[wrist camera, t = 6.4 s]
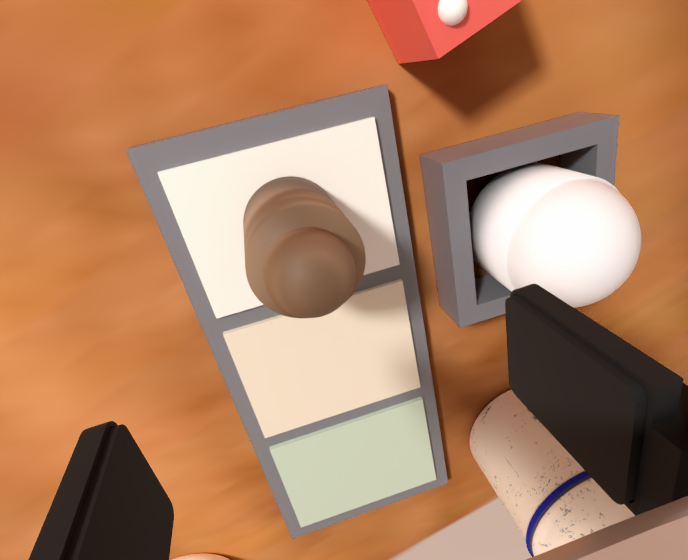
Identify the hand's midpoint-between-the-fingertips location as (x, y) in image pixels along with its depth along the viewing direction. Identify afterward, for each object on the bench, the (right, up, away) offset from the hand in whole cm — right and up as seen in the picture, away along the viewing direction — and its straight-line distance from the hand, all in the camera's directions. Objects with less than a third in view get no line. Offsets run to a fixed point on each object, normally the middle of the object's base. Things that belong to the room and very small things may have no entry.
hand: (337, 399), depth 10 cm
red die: (+4, +17, +11) cm, 21 cm away
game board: (-1, -2, +18) cm, 18 cm away
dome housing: (+10, +7, +17) cm, 21 cm away
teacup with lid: (+15, -8, +25) cm, 31 cm away
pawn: (-3, +6, +13) cm, 14 cm away
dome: (+11, +6, +15) cm, 20 cm away
